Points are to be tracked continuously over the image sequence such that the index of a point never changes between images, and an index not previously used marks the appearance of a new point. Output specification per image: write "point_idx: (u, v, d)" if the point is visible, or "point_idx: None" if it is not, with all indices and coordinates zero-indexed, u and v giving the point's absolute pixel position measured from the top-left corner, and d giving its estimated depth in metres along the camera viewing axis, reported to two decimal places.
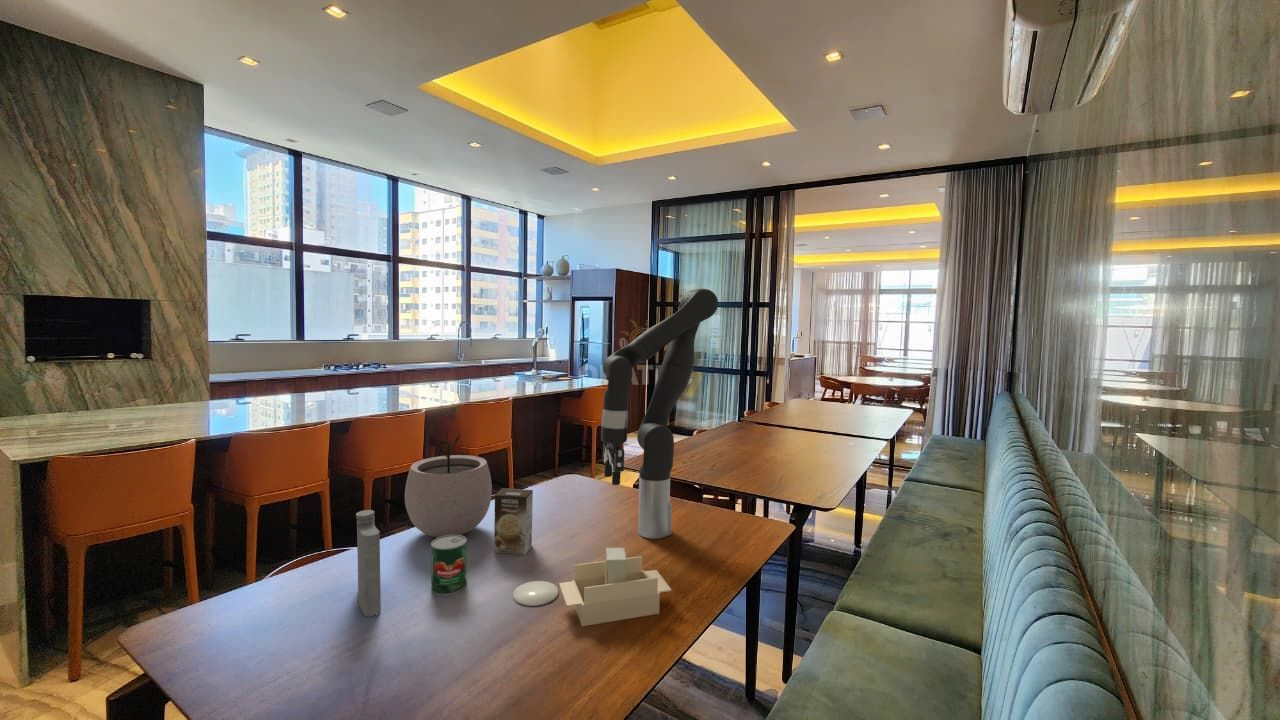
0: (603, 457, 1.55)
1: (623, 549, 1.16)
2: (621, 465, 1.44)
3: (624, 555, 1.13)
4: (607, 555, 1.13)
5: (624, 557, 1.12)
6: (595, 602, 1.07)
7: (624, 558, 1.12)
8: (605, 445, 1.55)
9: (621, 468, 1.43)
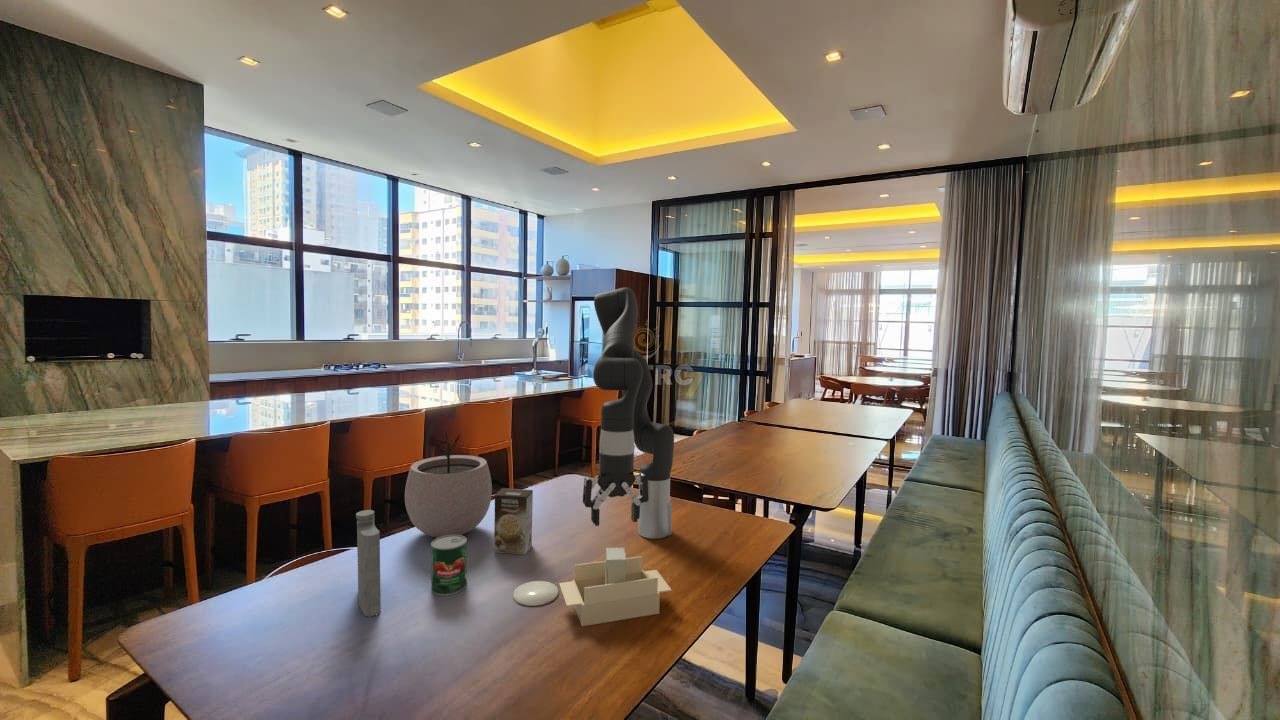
0: (589, 503, 1.10)
1: (623, 549, 1.16)
2: (641, 492, 1.16)
3: (624, 555, 1.13)
4: (607, 555, 1.13)
5: (624, 557, 1.12)
6: (595, 602, 1.07)
7: (624, 558, 1.12)
8: (592, 485, 1.10)
9: None
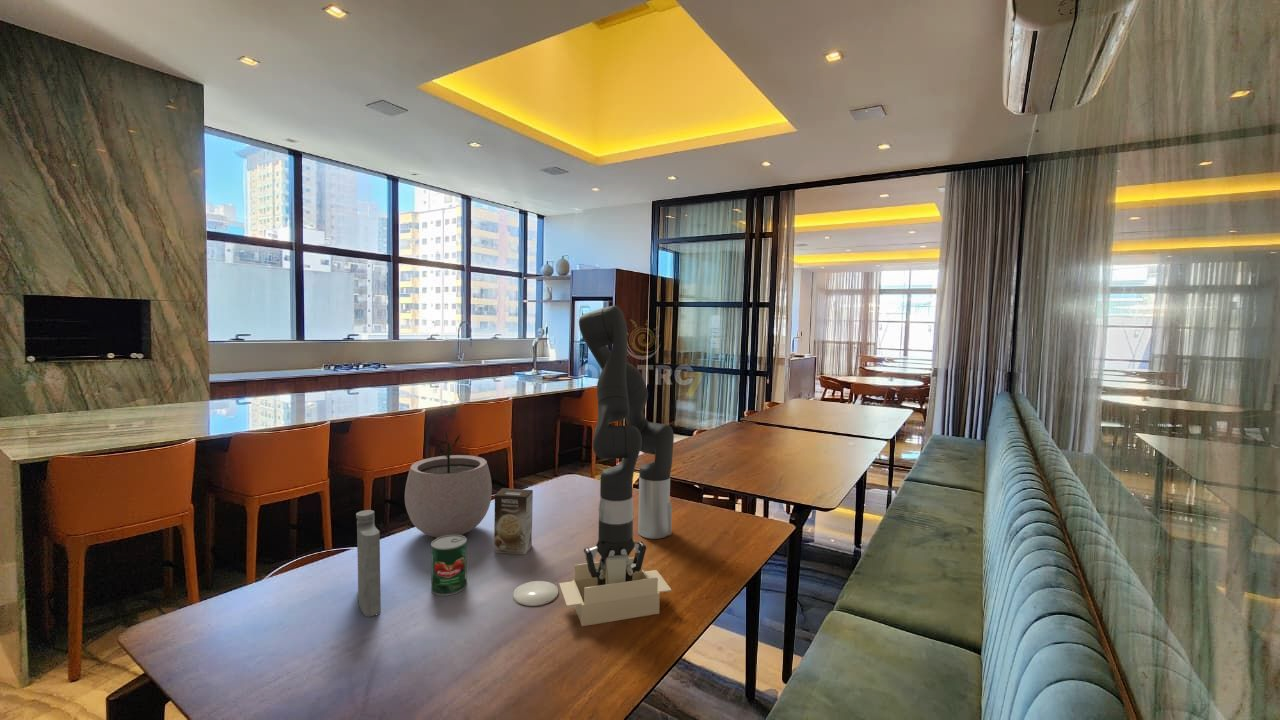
0: (595, 573, 1.12)
1: None
2: (635, 560, 1.16)
3: None
4: None
5: (624, 557, 1.12)
6: (595, 602, 1.07)
7: (624, 558, 1.12)
8: (592, 556, 1.11)
9: None
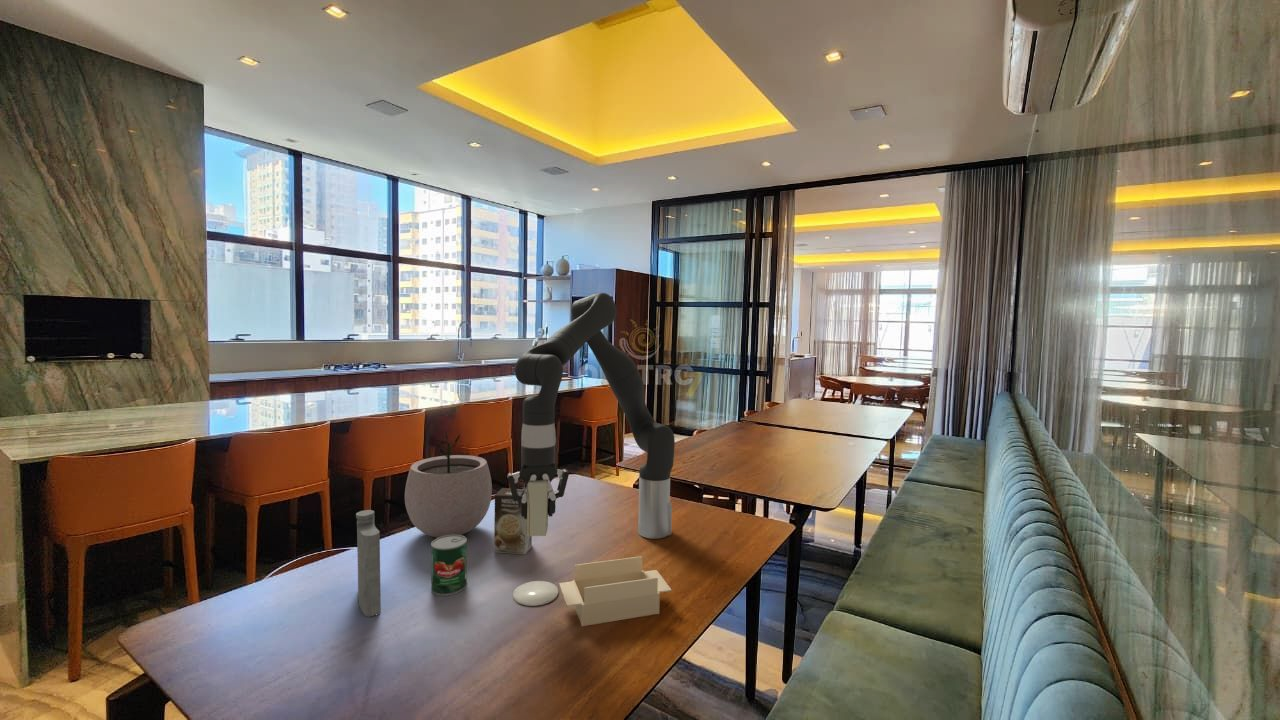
0: (517, 497, 1.15)
1: None
2: (559, 487, 1.20)
3: None
4: None
5: (546, 481, 1.15)
6: (595, 602, 1.07)
7: (545, 482, 1.15)
8: (514, 480, 1.15)
9: None
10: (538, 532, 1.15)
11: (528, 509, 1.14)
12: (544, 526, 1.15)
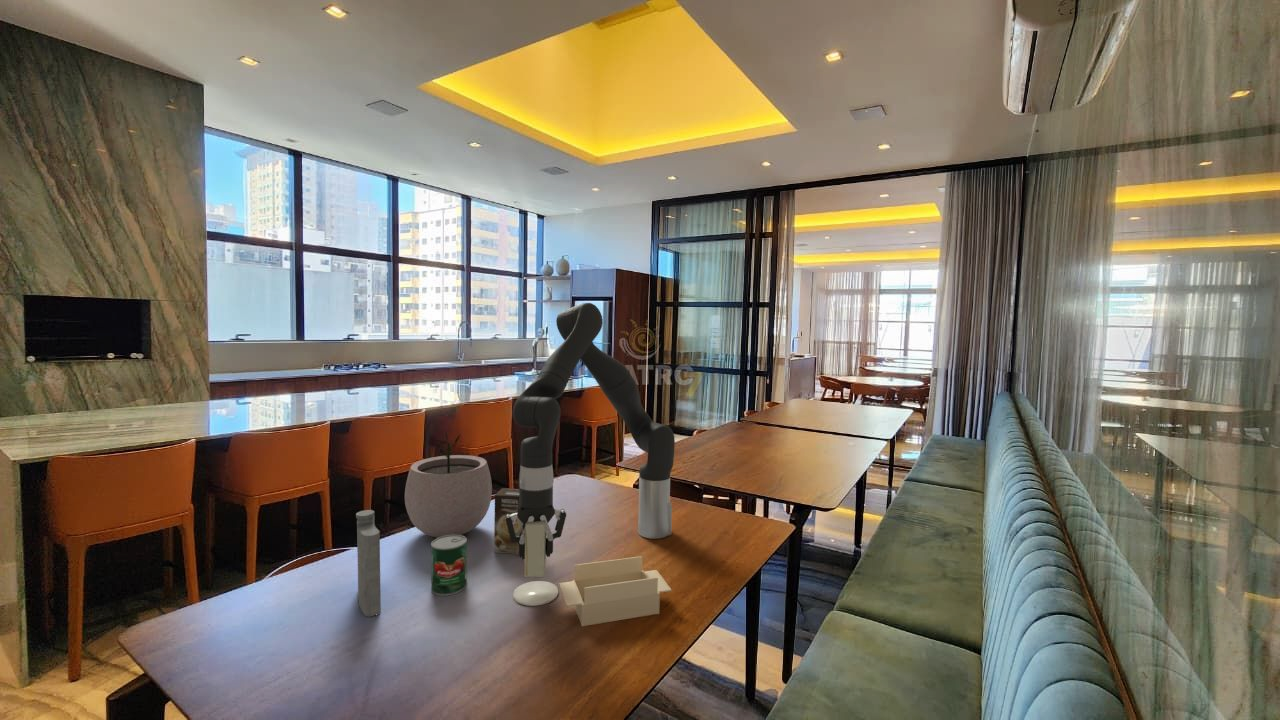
0: (515, 538, 1.16)
1: None
2: (557, 527, 1.21)
3: None
4: None
5: (543, 523, 1.16)
6: (595, 602, 1.07)
7: (543, 524, 1.16)
8: (512, 521, 1.16)
9: None
10: (536, 573, 1.16)
11: (526, 550, 1.15)
12: (541, 567, 1.16)
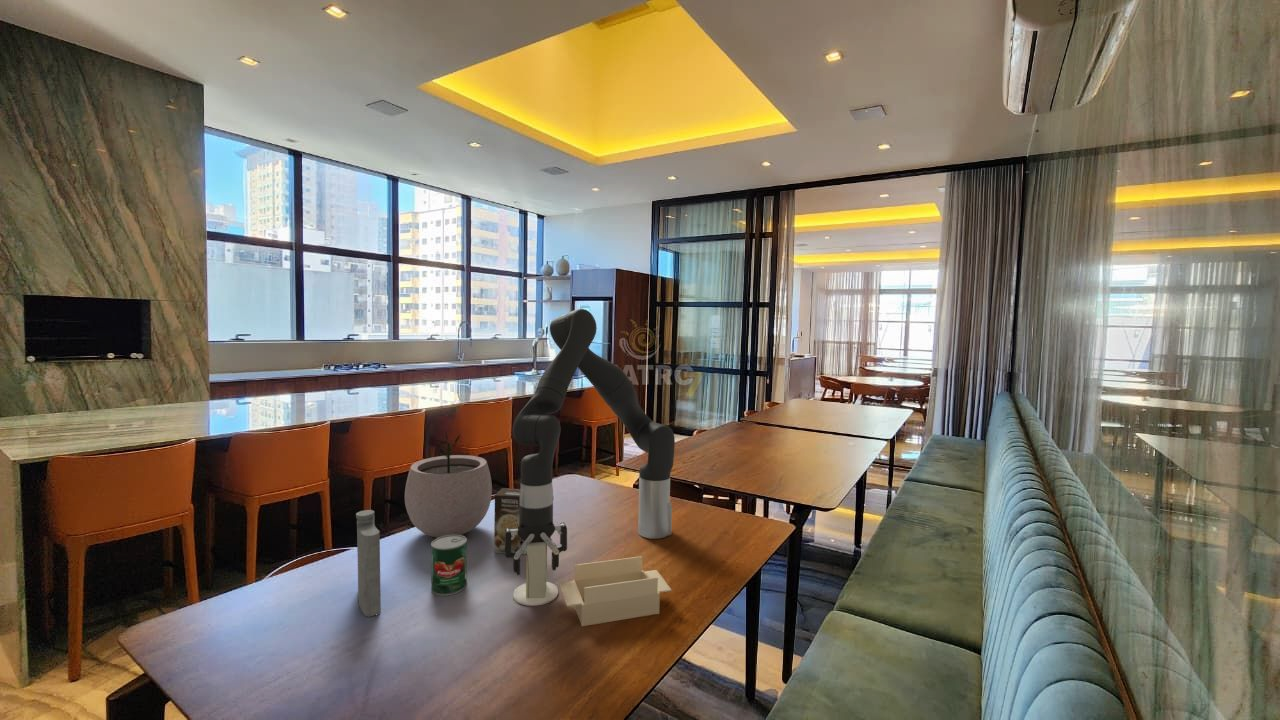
0: (510, 554, 1.16)
1: None
2: (562, 541, 1.21)
3: None
4: None
5: (544, 544, 1.17)
6: (595, 602, 1.07)
7: (544, 544, 1.16)
8: (511, 536, 1.16)
9: None
10: (537, 593, 1.16)
11: (527, 572, 1.16)
12: (543, 588, 1.16)
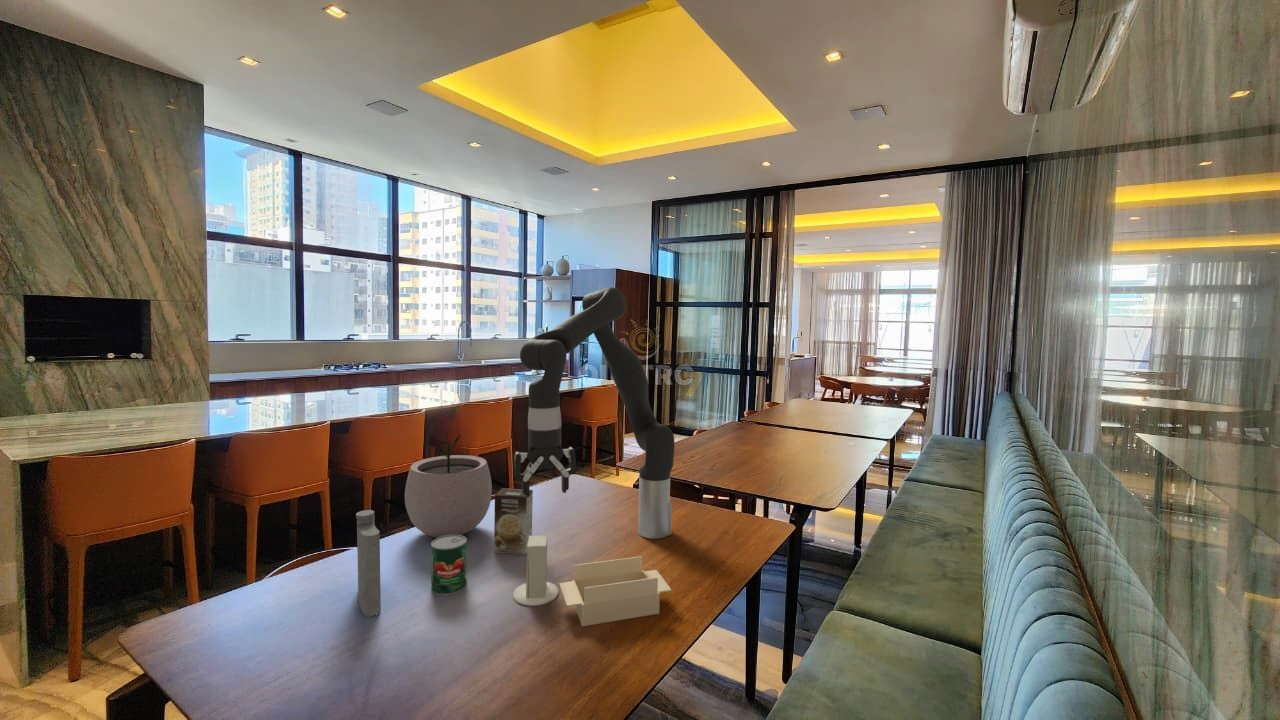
0: (519, 476, 1.18)
1: (546, 536, 1.21)
2: (571, 465, 1.24)
3: (545, 542, 1.18)
4: (528, 542, 1.17)
5: (545, 544, 1.17)
6: (595, 602, 1.07)
7: (544, 544, 1.16)
8: (521, 459, 1.18)
9: None
10: (537, 593, 1.16)
11: (527, 571, 1.16)
12: (543, 588, 1.16)
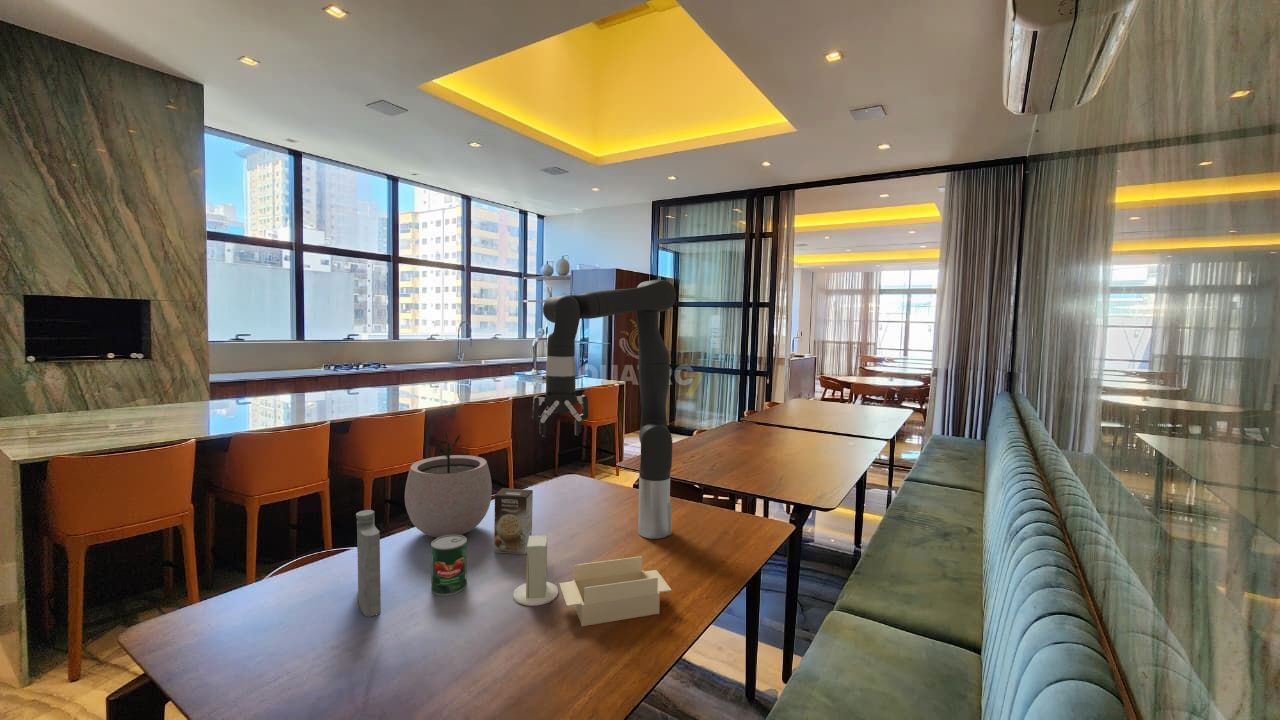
0: (537, 417, 1.31)
1: (546, 536, 1.21)
2: None
3: (545, 542, 1.18)
4: (528, 542, 1.17)
5: (545, 544, 1.17)
6: (595, 602, 1.07)
7: (544, 544, 1.16)
8: (539, 402, 1.32)
9: None
10: (537, 593, 1.16)
11: (527, 572, 1.16)
12: (543, 588, 1.16)
